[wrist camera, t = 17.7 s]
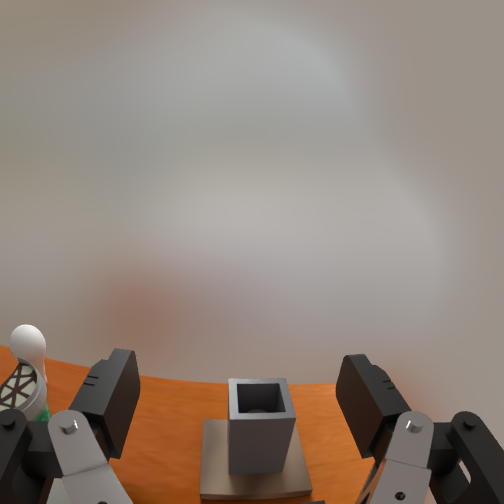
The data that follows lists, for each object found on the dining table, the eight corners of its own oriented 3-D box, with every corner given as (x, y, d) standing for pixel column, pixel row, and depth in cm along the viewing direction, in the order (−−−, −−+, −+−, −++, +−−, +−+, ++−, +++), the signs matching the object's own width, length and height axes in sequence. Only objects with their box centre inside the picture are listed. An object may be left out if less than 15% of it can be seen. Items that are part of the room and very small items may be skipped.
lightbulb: (62, 391, 36) (43, 332, 33) (29, 401, 32) (6, 341, 29) (53, 370, 40) (37, 314, 37) (23, 379, 36) (4, 322, 33)
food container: (53, 482, 21) (18, 429, 18) (13, 469, 20) (-23, 414, 17) (75, 416, 33) (56, 360, 30) (40, 408, 32) (19, 354, 29)
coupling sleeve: (228, 474, 27) (229, 419, 24) (227, 436, 33) (228, 378, 30) (282, 472, 27) (296, 417, 25) (275, 435, 33) (285, 378, 30)
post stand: (200, 498, 24) (195, 460, 22) (204, 425, 36) (202, 380, 33) (309, 495, 25) (327, 456, 23) (292, 425, 37) (302, 380, 34)
